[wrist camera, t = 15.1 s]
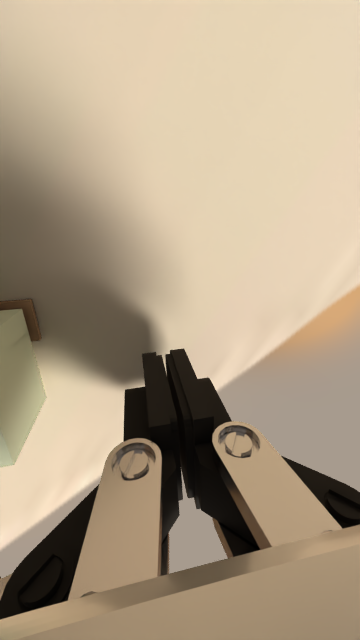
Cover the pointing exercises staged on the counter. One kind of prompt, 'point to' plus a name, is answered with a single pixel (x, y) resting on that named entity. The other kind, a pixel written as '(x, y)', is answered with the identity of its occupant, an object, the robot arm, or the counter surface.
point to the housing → (25, 315)
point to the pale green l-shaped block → (17, 385)
